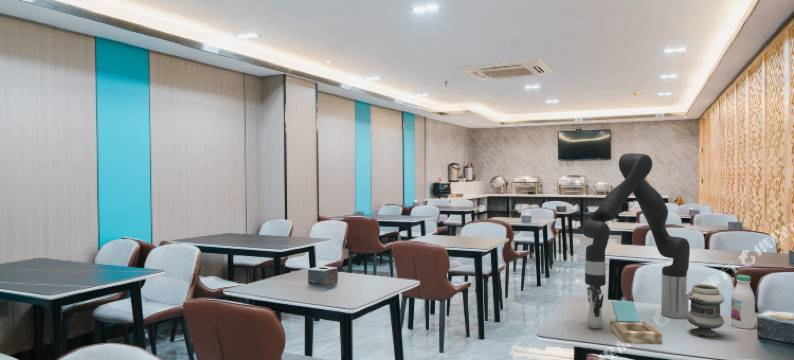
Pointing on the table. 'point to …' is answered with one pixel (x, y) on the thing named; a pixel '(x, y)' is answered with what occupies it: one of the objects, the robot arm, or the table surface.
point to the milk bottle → (743, 304)
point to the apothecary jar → (705, 310)
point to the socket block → (636, 332)
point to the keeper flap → (625, 311)
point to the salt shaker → (591, 319)
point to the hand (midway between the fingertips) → (594, 316)
